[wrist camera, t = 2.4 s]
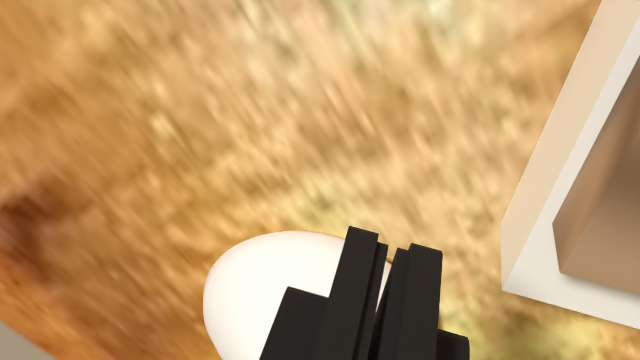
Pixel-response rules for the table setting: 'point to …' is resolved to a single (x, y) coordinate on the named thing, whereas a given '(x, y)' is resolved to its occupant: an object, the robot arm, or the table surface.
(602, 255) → the walnut block
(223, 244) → the table surface
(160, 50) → the table surface
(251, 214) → the table surface
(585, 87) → the flat white rectangular box
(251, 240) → the flower in vase
